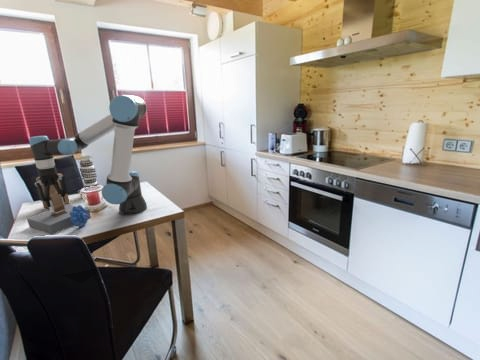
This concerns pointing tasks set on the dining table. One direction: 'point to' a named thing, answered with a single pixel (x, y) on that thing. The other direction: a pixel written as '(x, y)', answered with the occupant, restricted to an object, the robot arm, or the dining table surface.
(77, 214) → the grapes
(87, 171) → the decorative candle
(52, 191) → the wooden block
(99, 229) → the dining table surface
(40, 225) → the seat block
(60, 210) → the walnut peg
